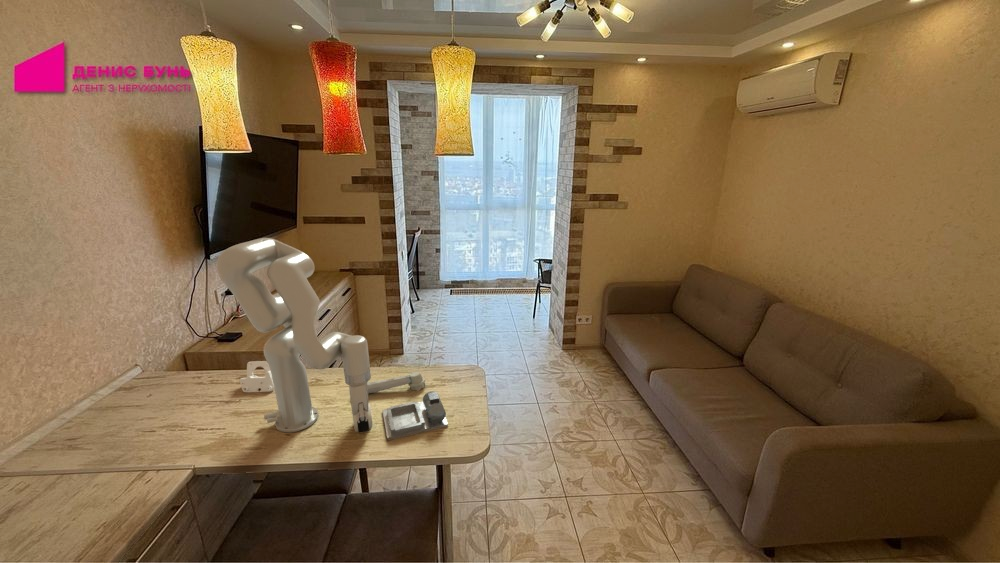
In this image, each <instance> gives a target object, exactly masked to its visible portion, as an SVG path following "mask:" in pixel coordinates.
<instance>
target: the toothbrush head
mask: <svg viewBox="0 0 1000 563" xmlns="http://www.w3.org/2000/svg"><path fill="white" fill-rule="evenodd" d="M367 385H368V395H370V394H372V393H373V394H374V393H378V392H381V391H386V390H389V389H393V388H397V387H401V386H405V385H408V387H409V388H410V390H412V391H417V392H418V391H420V390H421V389H424V388H425V387H426V378H425V377H424V376H422V372H420V371H415V372H414V371H413V372H412V373H410V374H408V375H403V376H398V377H397V376H396V377H393V378H392V377H391V378H387V379H382V380H376V381H370V382H367Z"/></svg>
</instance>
